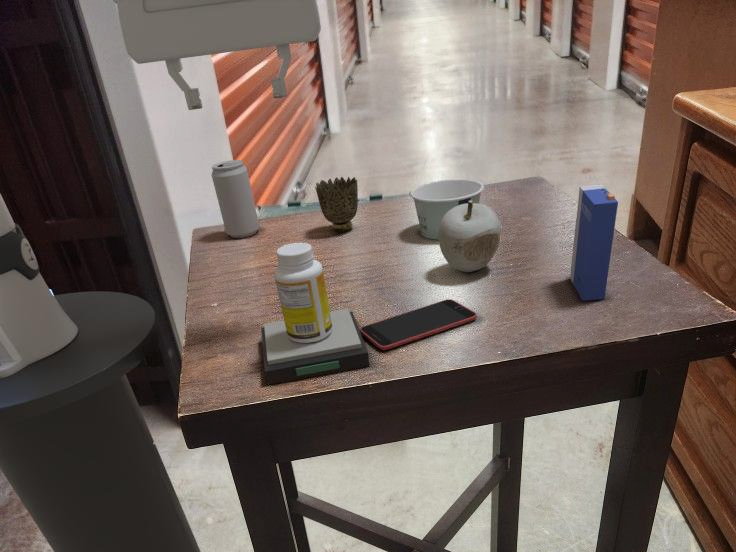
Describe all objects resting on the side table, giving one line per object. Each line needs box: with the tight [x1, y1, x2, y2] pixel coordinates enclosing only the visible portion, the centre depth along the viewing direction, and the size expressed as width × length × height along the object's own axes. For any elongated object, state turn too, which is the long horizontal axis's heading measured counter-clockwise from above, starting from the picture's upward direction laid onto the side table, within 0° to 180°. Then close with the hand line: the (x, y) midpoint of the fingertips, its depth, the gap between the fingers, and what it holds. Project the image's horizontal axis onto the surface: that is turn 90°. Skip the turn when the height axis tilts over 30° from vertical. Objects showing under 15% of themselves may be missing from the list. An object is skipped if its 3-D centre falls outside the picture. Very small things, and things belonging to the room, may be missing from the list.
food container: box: [410, 178, 485, 241], centre depth 102 cm, size 12×12×6 cm
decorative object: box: [438, 200, 502, 273], centre depth 87 cm, size 9×9×10 cm
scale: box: [260, 308, 371, 386], centre depth 75 cm, size 12×12×2 cm
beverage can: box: [211, 159, 260, 239], centre depth 112 cm, size 6×6×12 cm
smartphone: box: [359, 298, 478, 351], centre depth 77 cm, size 7×1×14 cm
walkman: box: [569, 184, 619, 302], centre depth 77 cm, size 8×3×12 cm, turn 178°
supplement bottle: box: [273, 242, 332, 343], centre depth 71 cm, size 6×6×10 cm
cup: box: [314, 176, 359, 233], centre depth 108 cm, size 8×7×8 cm
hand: (238, 103), depth 68 cm, fingers open, 8 cm apart
